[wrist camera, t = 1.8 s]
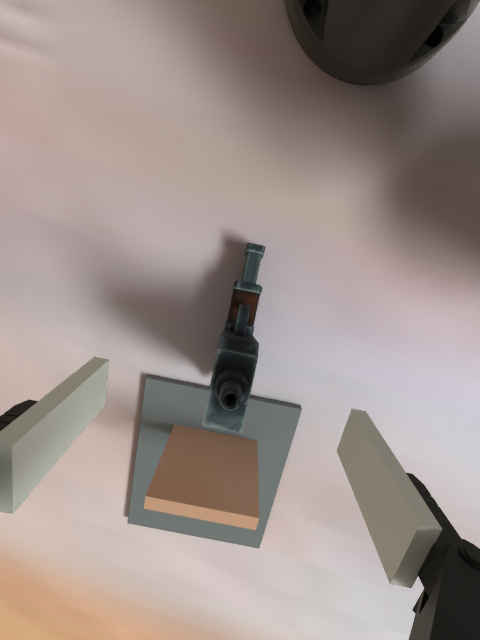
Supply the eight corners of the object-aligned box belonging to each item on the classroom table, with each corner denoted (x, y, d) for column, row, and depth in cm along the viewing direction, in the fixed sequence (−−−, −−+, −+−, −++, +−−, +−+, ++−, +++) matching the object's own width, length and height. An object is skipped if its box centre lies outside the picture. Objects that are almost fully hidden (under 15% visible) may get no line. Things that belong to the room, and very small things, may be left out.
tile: (174, 424, 35) (145, 496, 26) (257, 440, 35) (259, 518, 26) (172, 435, 36) (143, 510, 26) (254, 451, 36) (255, 531, 26)
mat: (148, 374, 34) (146, 377, 34) (300, 405, 35) (301, 409, 34) (129, 517, 41) (127, 523, 40) (259, 542, 41) (259, 548, 40)
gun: (297, 199, 16) (240, 474, 16) (265, 257, 33) (237, 391, 33) (247, 189, 16) (191, 465, 16) (241, 252, 32) (213, 386, 33)
